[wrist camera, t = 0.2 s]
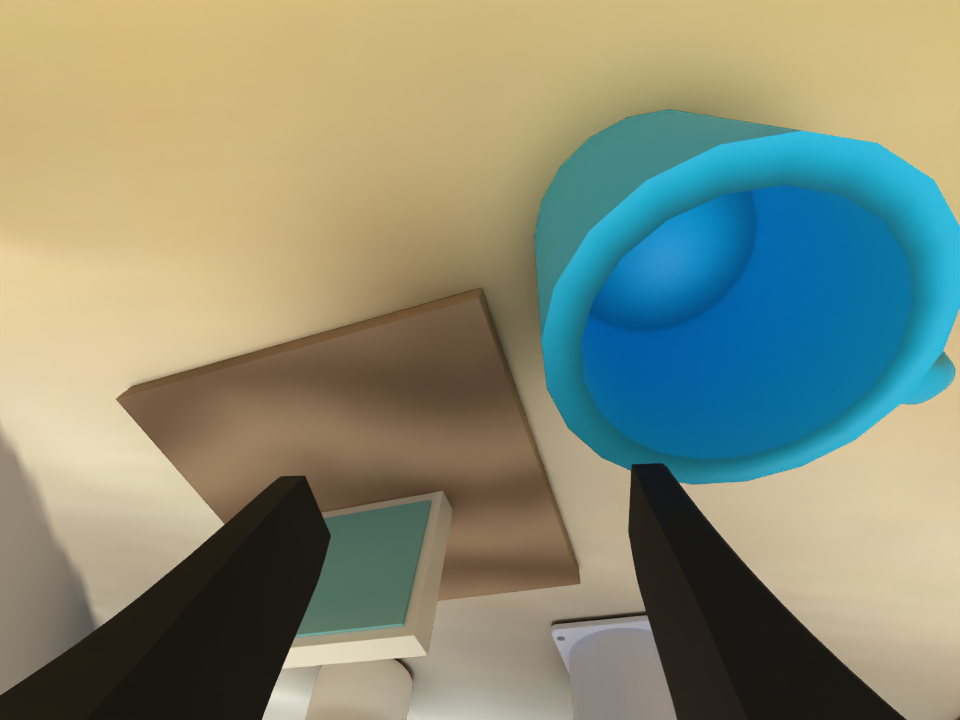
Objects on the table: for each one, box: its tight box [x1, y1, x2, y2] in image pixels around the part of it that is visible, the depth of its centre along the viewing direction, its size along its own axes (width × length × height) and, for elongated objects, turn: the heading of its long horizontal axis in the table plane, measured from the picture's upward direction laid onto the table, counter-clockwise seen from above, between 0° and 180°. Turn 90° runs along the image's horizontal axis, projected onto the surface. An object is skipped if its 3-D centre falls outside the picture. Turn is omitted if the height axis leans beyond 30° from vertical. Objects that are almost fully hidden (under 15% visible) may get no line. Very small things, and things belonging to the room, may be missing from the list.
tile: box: [282, 491, 453, 668], centre depth 21 cm, size 2×8×7 cm, turn 109°
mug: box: [534, 109, 960, 484], centre depth 13 cm, size 12×8×8 cm
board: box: [116, 288, 580, 601], centre depth 24 cm, size 18×18×1 cm
